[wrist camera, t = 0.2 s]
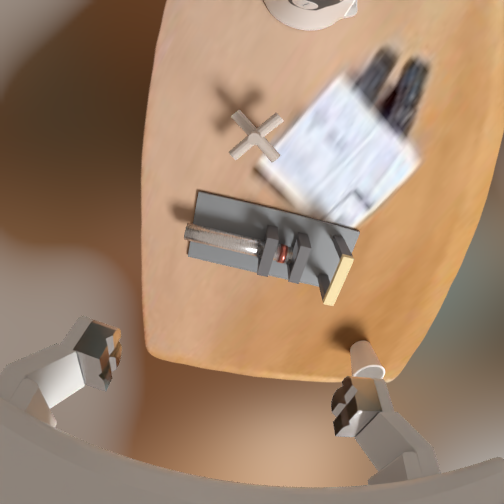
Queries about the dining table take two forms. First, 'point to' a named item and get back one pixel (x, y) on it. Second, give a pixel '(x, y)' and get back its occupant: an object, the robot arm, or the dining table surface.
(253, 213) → the collar board
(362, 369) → the dixie cup
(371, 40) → the dining table surface
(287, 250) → the tube
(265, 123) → the pipe connector
